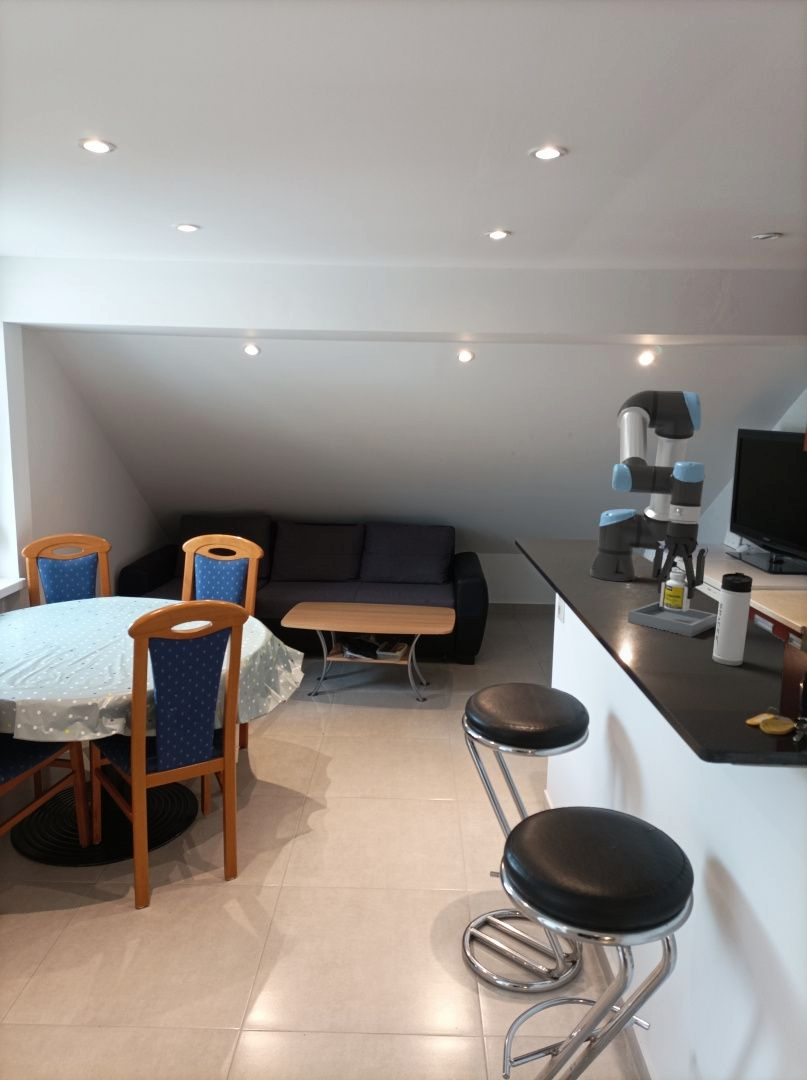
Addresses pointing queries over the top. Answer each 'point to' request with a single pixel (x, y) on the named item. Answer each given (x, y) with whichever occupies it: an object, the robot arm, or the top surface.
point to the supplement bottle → (675, 591)
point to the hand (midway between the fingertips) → (674, 607)
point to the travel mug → (732, 619)
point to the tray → (673, 619)
